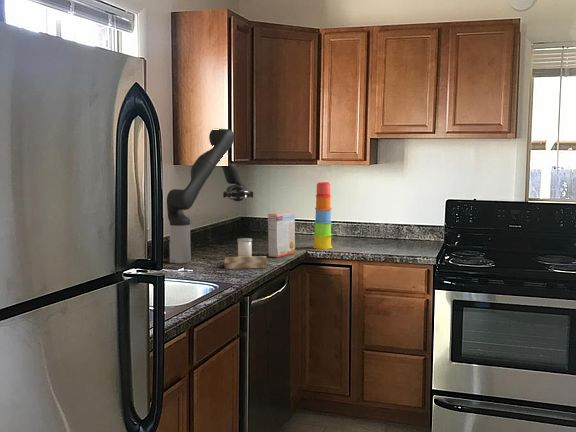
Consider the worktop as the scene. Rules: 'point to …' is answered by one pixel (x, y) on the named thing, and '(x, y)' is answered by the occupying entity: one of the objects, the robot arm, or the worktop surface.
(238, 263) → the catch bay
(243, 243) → the cylinder
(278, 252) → the cracker box
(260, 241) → the worktop surface
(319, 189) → the stacking cups
